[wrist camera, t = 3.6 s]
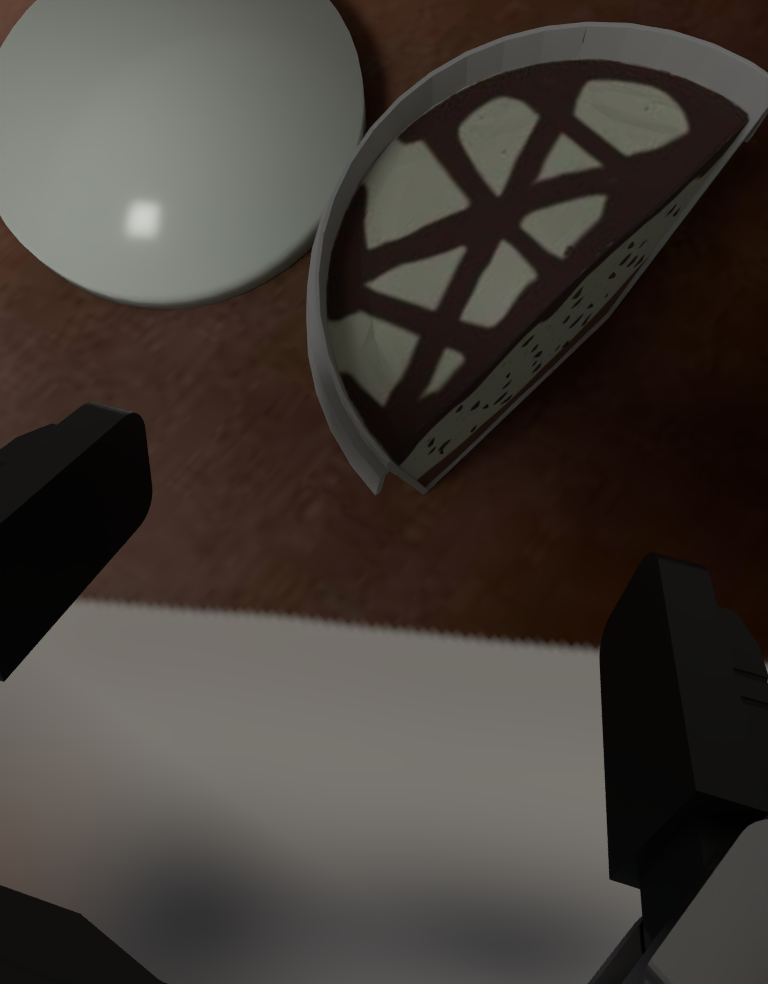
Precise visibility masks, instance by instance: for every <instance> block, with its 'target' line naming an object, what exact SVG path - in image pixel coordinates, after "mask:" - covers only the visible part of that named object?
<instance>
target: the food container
mask: <svg viewBox="0 0 768 984" xmlns="http://www.w3.org/2000/svg"><path fill="white" fill-rule="evenodd" d="M767 114H768V73H767V72H766V71H764V70H763V69H761V68H760V67H758V66H757V65H756V64H754V63H753V62H751V61H749V60H747V59H744V58H742V57H740V56H738V55H736V54H734V53H732V52H730V51H728V50H726V49H724V48H722V47H720V46H718V45H715V44H713V43H710V42H707V41H704V40H701V39H698V38H695V37H691V36H688V35H685V34H682V33H679V32H676V31H672V30H667V29H661V28H655V27H649V26H643V25H637V24H632V23H607V22H582V23H572V24H563V25H553V26H545V27H541V28H536V29H532V30H528V31H524V32H520V33H516V34H512V35H508V36H504V37H502V38H499V39H497V40H494V41H492V42H489V43H487V44H484V45H482V46H479V47H477V48H474V49H472V50H469V51H467V52H465V53H463V54H461V55H460V56H458V57H456V58H455V59H453V60H451V61H449V62H448V63H446V64H444V65H442V66H441V67H439V68H437V69H435V70H434V71H432V72H430V73H429V74H428V75H427V76H425V77H424V78H423V79H421V80H420V81H419V82H418V83H416V84H415V85H414V86H413V87H411V88H410V89H409V90H408V91H406V92H405V93H404V94H402V95H401V96H400V97H399V98H398V99H397V100H396V101H395V102H394V103H393V104H392V105H391V106H390V107H389V108H388V109H387V110H386V111H385V113H384V114H383V115H382V116H381V117H380V118H379V119H378V120H377V121H376V122H375V123H374V124H373V125H372V126H371V127H370V129H369V130H368V132H367V133H366V135H365V136H364V138H363V139H362V141H361V142H360V144H359V145H358V146H357V148H356V149H355V151H354V152H353V154H352V155H351V157H350V158H349V160H348V161H347V163H346V166H345V168H344V170H343V171H342V173H341V174H340V177H339V179H338V181H337V183H336V185H335V187H334V189H333V191H332V193H331V195H330V197H329V199H328V201H327V204H326V206H325V208H324V210H323V213H322V217H321V220H320V223H319V227H318V230H317V233H316V237H315V240H314V244H313V247H312V253H311V261H310V269H309V277H308V285H307V311H306V318H307V340H308V356H309V361H310V366H311V370H312V375H313V380H314V385H315V389H316V394H317V396H318V399H319V401H320V404H321V407H322V409H323V412H324V414H325V417H326V419H327V422H328V425H329V427H330V430H331V432H332V434H333V435H334V437H335V439H336V440H337V442H338V444H339V445H340V447H341V449H342V451H343V452H344V454H345V456H346V457H347V459H348V461H349V462H350V464H351V466H352V467H353V468H354V470H355V471H356V472H357V473H358V475H359V476H360V477H361V478H362V479H363V481H364V482H365V483H366V484H367V485H368V487H369V488H370V489H371V490H372V492H373V493H374V494H375V495H377V494H378V493H379V492H380V491H381V488H382V485H383V481H384V478H385V475H386V474H387V473H388V472H389V471H391V472H392V473H394V474H395V475H396V476H398V477H399V478H400V479H402V480H403V481H405V482H406V483H407V484H409V485H410V486H411V487H413V488H414V489H416V490H417V491H418V492H420V493H421V494H422V495H424V494H426V493H427V492H428V491H429V490H430V489H431V488H432V487H433V486H434V485H435V484H436V483H437V482H438V481H439V480H440V479H441V478H442V477H443V476H444V475H445V474H446V473H447V472H448V471H450V470H451V469H452V468H453V467H454V466H455V465H456V464H457V463H458V462H459V461H460V460H461V459H462V458H463V457H464V456H465V455H466V454H467V453H468V452H469V451H470V450H471V449H473V448H474V447H475V446H476V445H477V444H478V443H479V442H480V441H481V440H482V439H483V438H484V437H485V436H486V435H487V434H488V433H489V432H490V431H491V430H492V429H493V428H494V427H495V426H497V425H498V424H499V423H500V422H501V421H502V420H503V419H504V418H505V417H506V416H507V415H508V414H509V413H510V412H511V411H512V410H513V409H514V408H515V407H516V406H517V405H518V404H519V403H521V402H522V401H523V400H524V399H525V398H526V397H527V396H528V395H529V394H530V393H531V392H532V391H533V390H534V389H535V388H536V387H537V386H538V385H539V384H540V383H541V382H542V381H544V380H545V379H546V378H547V377H548V376H549V375H550V374H551V373H552V372H553V371H554V370H555V369H556V368H557V367H558V366H559V365H560V364H561V363H562V362H563V361H564V360H565V359H566V358H568V357H569V356H570V355H571V354H572V353H573V352H574V351H575V350H576V349H577V348H578V347H579V346H580V345H581V344H582V343H583V342H584V341H585V340H586V339H587V338H588V337H589V336H590V335H592V334H593V333H594V332H595V331H596V330H597V329H598V328H599V327H600V326H601V325H602V324H603V323H604V322H605V321H606V320H607V319H608V318H609V317H610V316H611V314H612V313H613V312H614V310H615V309H616V308H617V306H618V305H619V304H620V302H621V301H622V300H623V298H624V297H625V296H626V295H627V293H628V292H629V291H630V289H631V288H632V287H633V285H634V284H635V283H636V281H637V280H638V279H639V277H640V276H641V275H642V274H643V272H644V271H645V270H646V268H647V267H648V266H649V264H650V263H651V262H652V260H653V259H654V258H655V256H656V255H657V254H658V253H659V251H660V250H661V249H662V247H663V246H664V245H665V243H666V242H667V241H668V239H669V238H670V237H671V235H672V234H673V233H674V232H675V230H676V229H677V228H678V226H679V225H680V224H681V222H682V221H683V220H684V218H685V217H686V216H687V214H688V213H689V212H690V211H691V209H692V208H693V207H694V205H695V204H696V203H697V201H698V200H699V199H700V197H701V196H702V195H703V193H704V192H705V191H706V190H707V188H708V187H709V186H710V184H711V183H712V182H713V180H714V179H715V178H716V176H717V175H718V174H719V173H720V171H721V170H722V169H723V167H724V166H725V165H726V163H727V162H728V161H729V159H730V158H731V157H732V155H733V154H734V153H735V152H736V150H737V149H738V148H739V146H740V145H741V144H742V142H743V141H744V142H746V143H747V142H748V141H749V140H750V138H751V137H752V136H753V135H754V133H755V132H756V130H757V129H758V127H759V126H760V124H761V123H762V121H763V120H764V118H765V117H766V115H767Z"/></svg>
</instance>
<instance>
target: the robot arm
mask: <svg viewBox="0 0 768 984" xmlns="http://www.w3.org/2000/svg"><path fill="white" fill-rule="evenodd" d="M151 500H152V481H151V473H150V464H149V456H148V447H147V439H146V430H145V424H144V421H143V419H142V417H141V416H140V415H139V414H137V413H133V412H129V411H126V410H122V409H118V408H114V407H111V406H107V405H103V404H99V403H96V402H88V403H86V404H84V405H82V406H81V407H80V408H78V409H77V410H76V411H74V412H73V413H72V414H70V415H69V416H68V417H67V418H65V419H64V420H63V421H61V422H60V423H59V424H57V425H55V424H50V425H47V426H44V427H42V428H39V429H37V430H34V431H32V432H29V433H26V434H24V435H21V436H19V437H17V438H15V439H14V440H12V441H11V442H10V443H8V444H7V445H6V446H4V447H3V448H2V449H0V681H3V682H4V681H5V680H6V679H7V678H8V677H9V676H10V674H11V673H12V672H13V671H14V670H15V669H16V668H17V666H18V665H19V664H20V663H21V662H22V661H23V659H24V658H25V657H26V656H27V655H28V654H29V653H30V651H31V650H32V649H33V648H34V647H35V646H36V645H37V644H38V642H39V641H40V640H41V639H42V638H43V637H44V635H45V634H46V633H47V632H48V631H49V630H50V629H51V627H52V626H53V625H54V624H55V623H56V622H57V621H58V619H59V618H60V617H61V616H62V615H63V614H64V613H65V611H66V610H67V609H68V608H69V607H70V606H71V605H72V603H73V602H74V601H75V600H76V599H77V598H78V596H79V595H80V594H81V593H82V592H83V591H84V590H85V588H86V587H87V586H88V585H89V584H90V583H91V582H92V580H93V579H94V578H95V577H96V576H97V575H98V574H99V572H100V571H101V570H102V569H103V568H104V567H105V566H106V564H107V563H108V562H109V561H110V560H111V559H112V558H113V556H114V555H115V554H116V553H117V552H118V551H119V549H120V548H121V547H122V546H123V545H124V544H125V543H126V541H127V540H128V539H129V538H130V537H131V536H132V535H133V533H134V532H135V531H136V530H137V529H138V528H139V527H140V525H141V524H142V523H143V521H144V519H145V517H146V515H147V513H148V511H149V508H150V505H151ZM600 681H601V703H602V725H603V747H604V769H605V791H606V813H607V836H608V858H609V879H610V880H613V881H616V882H619V883H623V884H626V885H629V886H632V887H635V888H638V889H640V892H641V905H642V917H640V918H639V919H638V920H637V921H636V922H635V923H634V925H633V926H632V928H631V929H630V930H629V931H628V932H627V934H626V935H625V936H624V938H623V939H622V940H621V942H620V943H619V944H618V945H617V947H616V948H615V949H614V950H613V952H612V953H611V954H610V956H609V957H608V958H607V960H606V961H605V962H604V963H603V965H602V966H601V967H600V969H599V970H598V971H597V972H596V974H595V975H594V976H593V978H592V979H591V980H590V981H589V983H588V984H768V683H767V681H768V673H767V670H766V667H765V664H764V660H763V657H762V654H761V650H760V647H759V644H758V643H757V641H756V640H755V638H754V637H753V636H752V634H751V633H750V632H749V630H748V629H747V627H746V626H745V625H744V623H743V622H742V621H741V619H740V618H739V616H738V615H737V614H736V612H735V611H732V610H729V609H725V608H721V607H718V606H717V602H716V598H715V594H714V590H713V586H712V582H711V578H710V575H709V572H708V570H707V568H705V567H704V566H702V565H698V564H694V563H690V562H687V561H683V560H679V559H675V558H672V557H668V556H664V555H660V554H657V553H653V552H651V553H648V554H647V555H646V556H645V557H644V558H643V560H642V561H641V563H640V564H639V566H638V568H637V570H636V571H635V573H634V575H633V577H632V578H631V580H630V582H629V584H628V585H627V587H626V589H625V591H624V592H623V594H622V596H621V598H620V599H619V601H618V603H617V604H616V606H615V608H614V610H613V611H612V613H611V615H610V617H609V619H608V621H607V623H606V626H605V629H604V632H603V636H602V640H601V645H600ZM0 984H167V983H164V982H162V981H160V980H159V979H157V978H156V977H155V976H154V975H152V974H151V973H150V972H149V971H148V970H146V969H145V968H144V967H143V966H142V965H141V964H139V963H138V962H137V961H136V960H135V959H133V958H132V957H131V956H130V955H129V954H127V953H126V952H125V951H124V950H123V949H122V948H120V947H119V946H118V945H117V944H115V943H114V942H113V941H112V940H111V939H110V938H108V937H107V936H106V935H105V934H104V933H102V932H101V931H100V930H99V929H98V928H97V927H95V926H94V925H93V924H92V923H91V922H89V921H88V920H87V919H86V918H85V917H83V916H82V915H81V914H79V913H77V912H74V911H71V910H68V909H65V908H62V907H59V906H57V905H54V904H51V903H48V902H46V901H43V900H40V899H37V898H35V897H32V896H29V895H26V894H23V893H21V892H18V891H15V890H12V889H9V888H7V887H4V886H1V885H0Z"/></svg>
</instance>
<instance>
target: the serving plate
mask: <svg viewBox="0 0 768 984" xmlns="http://www.w3.org/2000/svg"><path fill="white" fill-rule="evenodd" d="M365 133H366V108H365V96H364V88H363V81H362V74H361V69H360V64H359V59H358V54H357V52H356V49H355V46H354V43H353V40H352V38H351V35H350V32H349V30H348V29H347V27H346V25H345V23H344V21H343V19H342V18H341V16H340V14H339V12H338V11H337V9H336V8H335V7H334V5H333V4H332V3H331V1H330V0H37V1H36V2H35V3H34V4H33V5H32V6H31V7H30V8H29V9H28V10H27V11H26V12H25V13H24V15H23V16H22V17H21V18H20V20H19V21H18V22H17V23H16V25H15V26H14V27H13V28H12V30H11V32H10V33H9V35H8V36H7V38H6V40H5V41H4V43H3V45H2V46H1V48H0V216H1V217H2V219H3V221H4V222H5V224H6V225H7V227H8V228H9V229H10V230H11V231H12V233H13V234H14V235H15V236H16V238H17V239H18V240H19V241H20V242H21V243H22V244H23V245H24V246H25V247H26V248H27V249H28V250H29V251H30V252H32V253H33V254H34V255H35V256H36V257H37V258H38V259H39V260H41V261H42V262H43V263H44V264H46V265H47V266H48V267H49V268H50V269H52V270H53V271H54V272H55V273H57V274H58V275H59V276H61V277H62V278H64V279H65V280H67V281H68V282H70V283H71V284H73V285H74V286H76V287H78V288H80V289H82V290H84V291H86V292H88V293H90V294H92V295H94V296H96V297H99V298H102V299H105V300H109V301H112V302H115V303H118V304H122V305H128V306H133V307H139V308H147V309H167V310H168V309H181V308H193V307H198V306H203V305H208V304H212V303H217V302H220V301H223V300H226V299H229V298H232V297H235V296H238V295H241V294H243V293H246V292H248V291H250V290H252V289H254V288H256V287H258V286H260V285H262V284H264V283H266V282H268V281H269V280H271V279H272V278H274V277H275V276H277V275H278V274H280V273H282V272H283V271H285V270H286V269H288V268H289V267H290V266H291V265H292V264H294V263H295V262H296V261H297V260H298V259H300V258H301V257H302V256H303V255H304V254H306V253H307V252H308V251H309V250H310V249H311V248H312V246H313V244H314V240H315V237H316V233H317V230H318V227H319V223H320V220H321V217H322V213H323V210H324V208H325V206H326V204H327V201H328V199H329V197H330V195H331V193H332V191H333V189H334V187H335V185H336V183H337V181H338V179H339V177H340V174H341V173H342V171H343V170H344V168H345V166H346V163H347V161H348V160H349V158H350V157H351V155H352V154H353V152H354V151H355V149H356V148H357V146H358V145H359V144H360V142H361V141H362V139H363V138H364V136H365Z"/></svg>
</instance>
